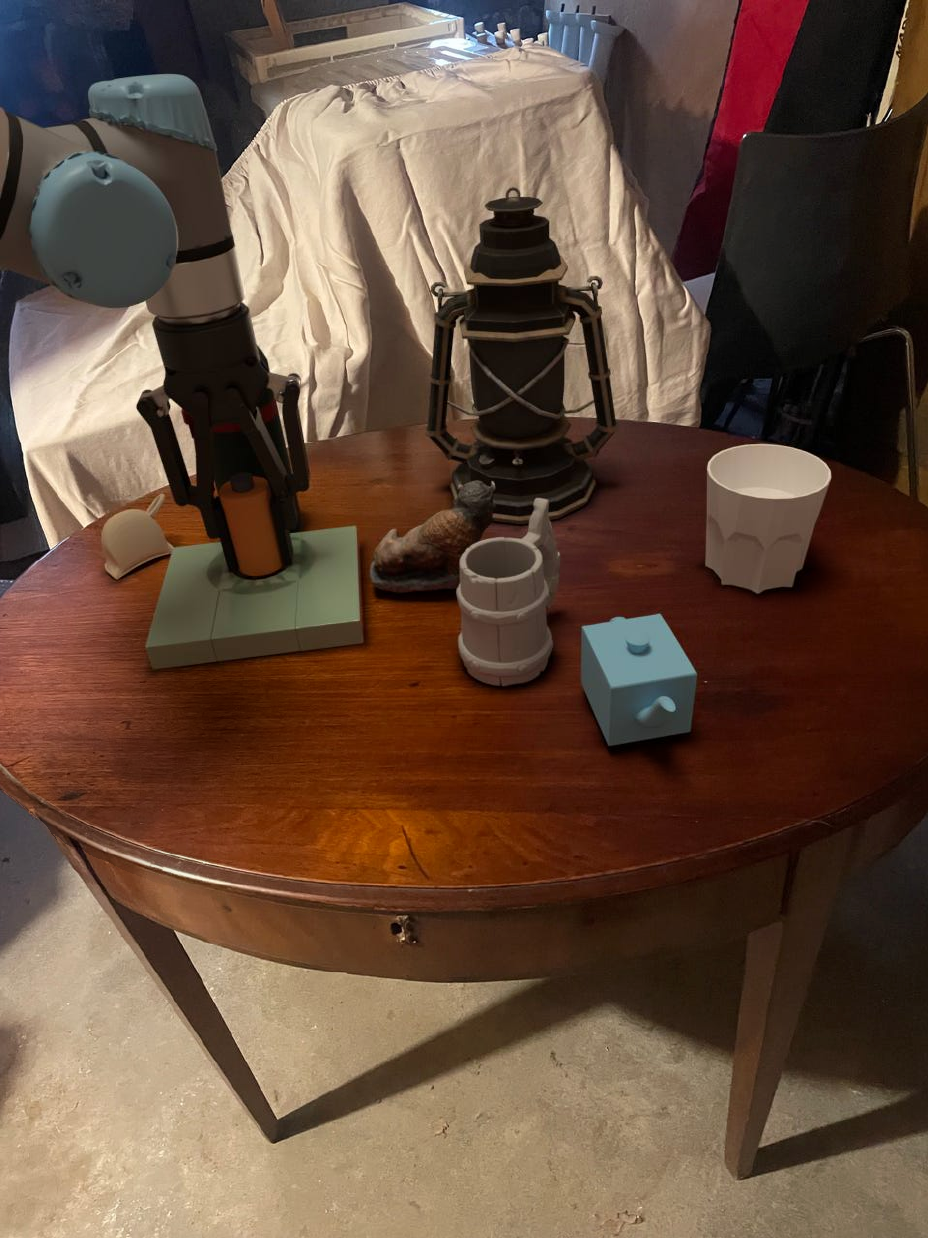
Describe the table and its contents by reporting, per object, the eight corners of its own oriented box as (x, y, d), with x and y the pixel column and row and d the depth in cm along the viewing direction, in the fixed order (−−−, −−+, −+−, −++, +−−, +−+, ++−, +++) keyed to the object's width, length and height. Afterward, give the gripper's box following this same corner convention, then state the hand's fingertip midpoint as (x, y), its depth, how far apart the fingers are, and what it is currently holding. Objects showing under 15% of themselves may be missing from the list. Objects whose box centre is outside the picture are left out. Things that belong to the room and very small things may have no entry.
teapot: (707, 774, 61) (719, 693, 56) (622, 790, 60) (627, 708, 56) (648, 667, 70) (654, 589, 66) (575, 679, 70) (576, 602, 65)
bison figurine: (369, 607, 79) (353, 510, 73) (375, 565, 85) (360, 472, 79) (501, 599, 79) (496, 501, 73) (498, 557, 85) (493, 463, 79)
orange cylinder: (236, 579, 80) (212, 492, 75) (240, 553, 84) (218, 469, 78) (284, 573, 81) (264, 486, 75) (286, 548, 84) (267, 463, 79)
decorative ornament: (97, 566, 89) (80, 520, 85) (171, 533, 93) (157, 488, 90) (114, 581, 86) (97, 534, 83) (190, 546, 90) (176, 501, 87)
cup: (833, 586, 77) (855, 486, 71) (727, 607, 76) (741, 507, 70) (775, 531, 85) (791, 436, 79) (679, 549, 84) (688, 454, 78)
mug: (440, 669, 72) (427, 544, 65) (518, 597, 79) (514, 478, 72) (519, 701, 68) (514, 573, 61) (593, 622, 75) (596, 499, 68)
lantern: (422, 527, 90) (387, 214, 72) (439, 457, 103) (413, 176, 85) (619, 524, 88) (633, 201, 70) (612, 453, 101) (623, 164, 83)
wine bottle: (209, 517, 95) (126, 221, 77) (303, 505, 96) (242, 209, 78) (201, 555, 89) (110, 243, 71) (302, 542, 90) (236, 229, 72)
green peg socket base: (152, 670, 74) (144, 647, 73) (179, 567, 87) (173, 546, 86) (364, 643, 75) (359, 620, 74) (359, 546, 88) (356, 524, 87)
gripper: (312, 283, 72) (353, 529, 85) (96, 306, 71) (173, 551, 85) (309, 311, 66) (355, 571, 79) (74, 336, 65) (161, 595, 79)
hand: (261, 560), depth 82 cm, fingers closed on orange cylinder, 4 cm apart
